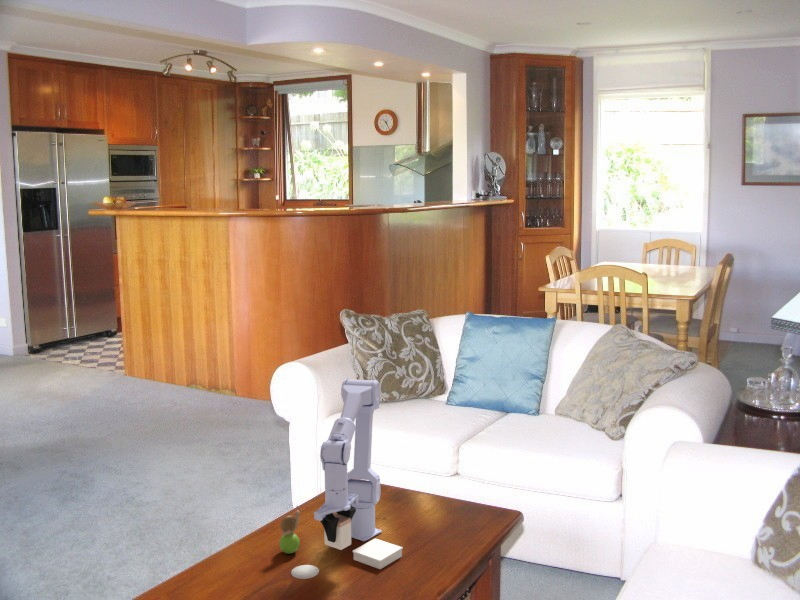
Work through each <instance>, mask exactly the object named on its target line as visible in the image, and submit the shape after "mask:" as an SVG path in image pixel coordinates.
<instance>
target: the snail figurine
mask: <svg viewBox="0 0 800 600" xmlns="http://www.w3.org/2000/svg"><path fill="white" fill-rule="evenodd" d="M296 508H297V510H295V511H294V516H292V515H286V516H285V517H283V518H282V519H281V522H280V528H281V530H282V531H281V535H282V536H281V537H280V539H279V543H278V544H279V548H280V550H281V551H282V552H283V553H285V554H294V553H295V552H297V551H298V550H299V548H300V545H301V544H300V543H301V542H300V541H301V540H300V538H299V536H298V535H297V534H296V533H294V532H295V531H296V530H297V528H298V525H299V521H300V514H301V512H300V510H299V509H301V506H299V505H296Z"/></svg>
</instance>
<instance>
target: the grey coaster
mask: <svg viewBox="0 0 800 600" xmlns="http://www.w3.org/2000/svg"><path fill="white" fill-rule="evenodd" d="M319 572H320V569H319V568H318V567H317V566H316V565H311V564H303V565H301V564H300V565H299V566H298V565H297V566H295V567H294V568H293V569H292V570H291V572H290V574H291V576H292V577H293V578H295V579H301V580H305V579H306V580H307V579H312V578H314V577H316V576H317V575H319Z"/></svg>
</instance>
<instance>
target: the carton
mask: <svg viewBox="0 0 800 600" xmlns="http://www.w3.org/2000/svg"><path fill="white" fill-rule="evenodd" d="M333 515H334V517H337V518H339V521H338V524H337V529H336V541H335V542H330V541H328V539H327V535H326V532H325V529H324V528H323V531H324V532H323V533H324V535H323V536H324V545H326V546H329V547H331V548H334V549H337V550H340V551H342V550H343V549H345V548H347V547H350V546H351V545H352V537H351V518H348V517H345V516H342V515H339V514H337V513H336V512H335V513H333Z"/></svg>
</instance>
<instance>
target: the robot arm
mask: <svg viewBox="0 0 800 600" xmlns="http://www.w3.org/2000/svg"><path fill="white" fill-rule="evenodd" d="M340 389H341V390H340V394H341V398H342V402H343V405H342V410H341V414H340V417H339V418H337V419H336V420H335V421H334V423H333V425H332V428H331V431H330V433H329V436H328V438H327V440H325V441H323V442H322V444H321V446H320V447H321V448H320V455H319V456H320V461H321V465H322V466H321V467H322V468H321V469H322V471H324V498H325V501H324V503H323V504H322V505H321V506H320V507H318V509H317V510H316V511H314V512H313V516H314V517H313V519H314V520H315V521H318V522H320V524H321V525H322V526H323V527H322V528H323V530H324V529H325V532H326V535H327V539H328V541H330V542H335V541H336V529H337V524H338V521H339V518H337V517H334V515H333V514H334V513H336V514H339V515H342V516H345V517H348V518H351V539H355V540H358V541H361V542H367V541H368V540H370V539H372V538H374V537H375V536H377V535H379V534H381V533H382V531H383V530H382V529H379V528H376V505H377V504H378V503H379V501H380V498H381V495H382V494H381V493H382V491H381V488H382V487H381V477H380V476H379V474H378V473H377V472H376V471H374V470H373V469H372V467H371V463H372V461H371V460H372V445H373V444H372V443H373V439H372V437H373V418H374V416H373V415H374V412H375V410H377V409H380V404H381V384H380V382H379V381H378V379H373V380H371V379H369V380H368V379H350V378H345V379H344V380H343V381H342V383H341V387H340ZM353 438H354V449H353V468H352V469H351V470H349V471H348V463H349V461H350V457H351V451H352V444H351V443H352V440H353Z"/></svg>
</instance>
